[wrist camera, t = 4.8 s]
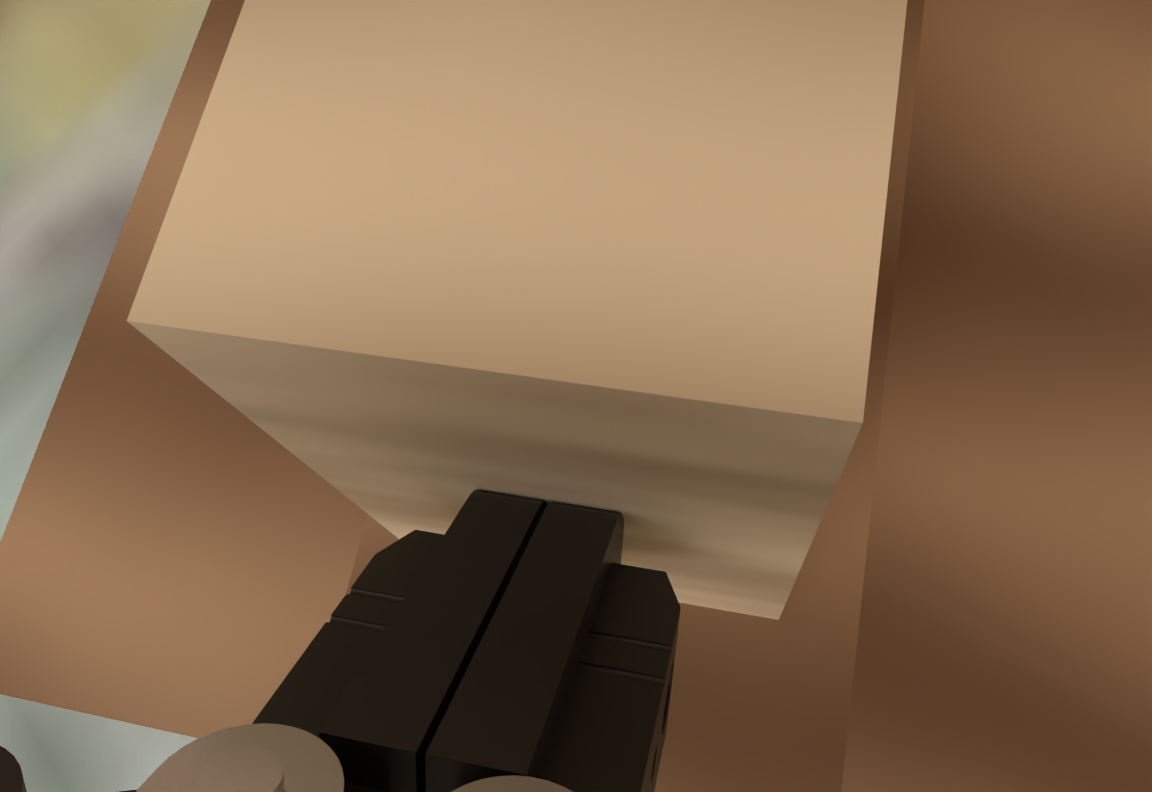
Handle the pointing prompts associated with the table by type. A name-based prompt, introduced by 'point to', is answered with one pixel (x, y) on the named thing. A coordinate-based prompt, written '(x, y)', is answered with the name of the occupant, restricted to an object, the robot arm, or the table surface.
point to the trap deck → (851, 520)
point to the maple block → (548, 260)
